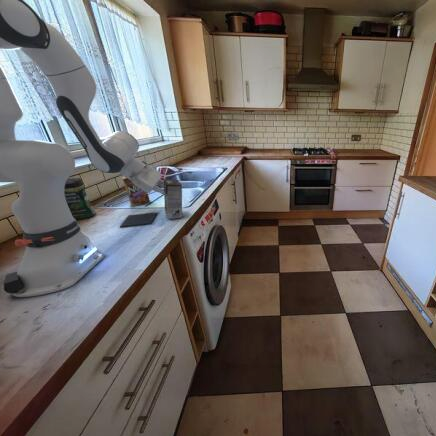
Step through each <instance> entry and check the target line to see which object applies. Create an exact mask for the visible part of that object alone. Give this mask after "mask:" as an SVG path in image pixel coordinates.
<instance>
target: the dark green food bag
mask: <svg viewBox="0 0 436 436" xmlns="http://www.w3.org/2000/svg"><path fill="white" fill-rule="evenodd" d="M64 194H65V199H66V202H67V204H68V207H69V209H70V212H71V214H72V216H73V218H75V219H76V220H83V219H88V218H92V217H94V215H95V214H96V209H95V207H94V206H93V204H92V202H91V200H90V198H89V196H88V194H87V192H86V185H85V182H84V181H83V180H82V178H81V177H69V178H68V179H67V181H66V183H65V188H64Z"/></svg>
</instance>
